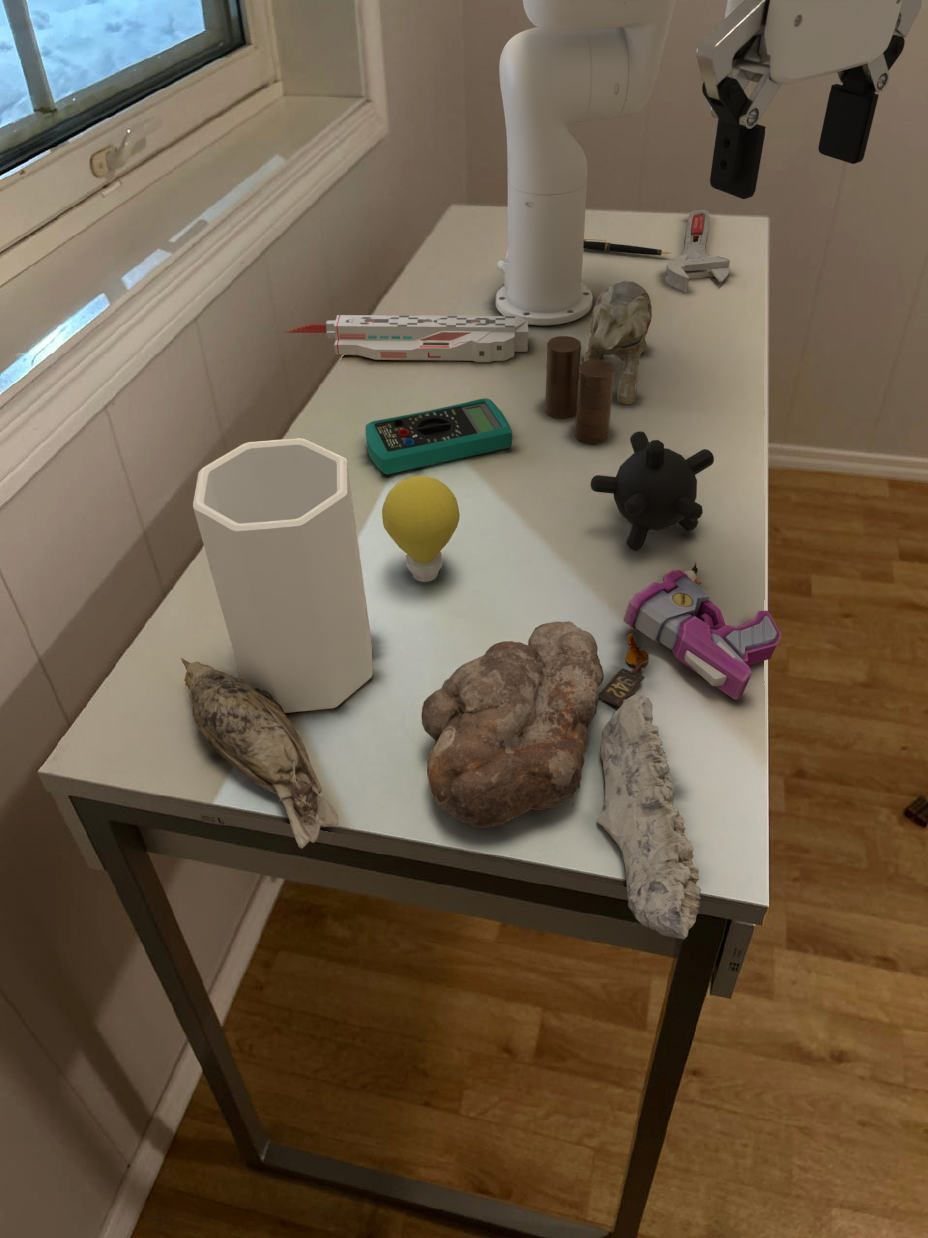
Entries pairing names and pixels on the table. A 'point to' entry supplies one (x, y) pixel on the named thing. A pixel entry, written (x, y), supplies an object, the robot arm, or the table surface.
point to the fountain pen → (620, 248)
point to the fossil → (647, 822)
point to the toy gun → (702, 631)
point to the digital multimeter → (437, 436)
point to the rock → (514, 726)
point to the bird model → (259, 745)
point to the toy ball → (655, 488)
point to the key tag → (625, 676)
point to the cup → (287, 570)
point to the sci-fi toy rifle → (426, 337)
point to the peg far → (562, 376)
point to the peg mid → (594, 401)
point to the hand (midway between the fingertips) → (787, 174)
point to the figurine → (621, 331)
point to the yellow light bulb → (421, 522)
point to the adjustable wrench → (696, 255)
